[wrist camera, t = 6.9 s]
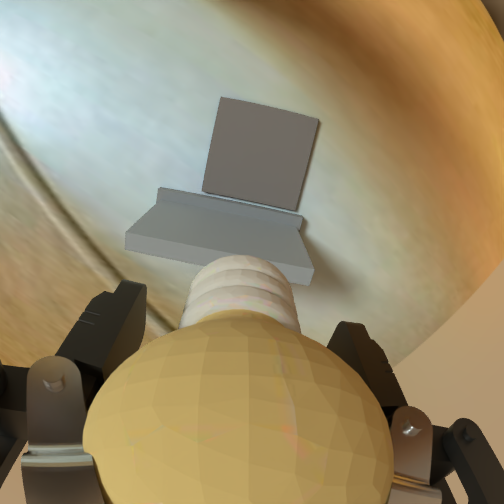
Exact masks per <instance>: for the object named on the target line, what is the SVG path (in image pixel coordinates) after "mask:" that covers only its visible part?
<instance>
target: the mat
mask: <svg viewBox="0 0 504 504" xmlns="http://www.w3.org/2000/svg"><path fill="white" fill-rule="evenodd" d="M318 120H319V119H316V118H312V117H309V116H305V115H301V114H298V113H294V112H290V111H286V110H282V109H278V108H273V107H269V106H265V105H260V104H255V103H251V102H246V101H241V100H235V99H230V98H224V97H221V98H220V103H219V107H218V112H217V116H216V121H215V125H214V130H213V135H212V140H211V144H210V149H209V154H208V159H207V165H206V170H205V175H204V181H203V186H202V191H203V192H208V193H214V194H219V195H224V196H229V197H234V198H239V199H244V200H248V201H253V202H258V203H263V204H267V205H272V206H276V207H281V208H285V209H290V210H294V211H295V209H296V206H297V202H298V198H299V194H300V191H301V187H302V183H303V179H304V176H305V172H306V168H307V164H308V160H309V156H310V152H311V148H312V144H313V140H314V136H315V132H316V128H317V124H318Z"/></svg>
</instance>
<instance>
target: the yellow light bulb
mask: <svg viewBox="0 0 504 504" xmlns="http://www.w3.org/2000/svg"><path fill="white" fill-rule="evenodd" d="M83 449H84V451H85V452H88V453H90V454H91V455H92V458H93V462H94V466H95V470H96V474H97V478H98V481H99V485H100V488H101V491H102V494H103V496H104V499H105V502H106V504H385V503H386V501H387V498H388V495H389V492H390V488H391V484H392V481H393V476H394V455H393V445H392V440H391V435H390V431H389V426H388V422H387V420H386V417H385V415H384V413H383V411H382V409H381V406H380V404H379V402H378V401H377V399H376V397H375V396H374V394H373V393H372V391H371V390H370V389H369V387H368V386H367V385H366V383H365V382H364V381H363V379H362V378H361V377H360V375H359V374H358V373H357V372H356V371H354V370H353V369H352V368H351V367H350V366H349V365H348V364H347V363H345V362H344V361H343V360H342V359H341V358H340V357H339V356H337V355H336V354H335V353H333V352H332V351H331V350H329V349H328V348H326V347H325V346H323V345H322V344H320V343H318V342H316V341H314V340H312V339H310V338H308V337H306V336H304V335H302V334H301V329H300V325H299V322H298V319H297V311H296V307H295V303H294V299H293V293H292V289H291V287H290V284H289V282H288V280H287V279H286V277H285V276H284V275H283V273H282V272H281V271H280V270H279V269H278V268H277V267H276V266H274V265H273V264H271V263H270V262H268V261H266V260H263V259H261V258H258V257H253V256H249V255H232V256H227V257H222V258H219V259H217V260H215V261H213V262H211V263H209V264H208V265H207V266H206V267H204V268H203V269H202V270H201V271H200V272H199V273H198V274H197V275H196V277H195V278H194V280H193V282H192V284H191V287H190V291H189V295H188V298H187V301H186V304H185V307H184V310H183V315H182V318H181V321H180V324H179V328H178V330H176V331H173V332H171V333H169V334H166V335H164V336H161V337H159V338H157V339H155V340H154V341H152V342H150V343H148V344H147V345H145V346H144V347H142V348H141V349H139V350H138V351H137V352H135V353H134V354H133V355H131V356H130V357H129V358H128V359H126V360H125V361H124V362H123V363H122V364H121V365H120V366H119V367H118V368H117V369H116V370H115V371H114V372H113V373H112V374H111V375H110V376H109V378H108V379H107V380H106V382H105V383H104V384H103V386H102V387H101V388H100V390H99V391H98V393H97V394H96V396H95V398H94V400H93V402H92V404H91V406H90V408H89V410H88V412H87V419H86V422H85V426H84V430H83Z"/></svg>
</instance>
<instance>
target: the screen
mask: <svg viewBox="0 0 504 504" xmlns="http://www.w3.org/2000/svg"><path fill="white" fill-rule="evenodd" d="M302 220H303V217H302V216H301V215H297V214H292V213H288V212H283V211H279V210H274V209H270V208H265V207H260V206H256V205H251V204H246V203H241V202H237V201H232V200H227V199H222V198H216V197H211V196H206V195H201V194H196V193H190V192H185V191H179V190H174V189H168V188H162V187H160V188H159V189H158V193H157V201H156V204H155V205H154V206H153V207H152V208H151V209H150V210H149V211H148V212H147V213H145V214H144V215H143V216H142V217H141V218H140V219H139V220H138V221H137V222H136V223H135V224H134V225H133V226H132V227H131V228H129V229H128V230H127V231H126V235H125V250H129V251H134V252H138V253H143V254H148V255H152V256H157V257H162V258H167V259H172V260H176V261H181V262H186V263H191V264H196V265H201V266H207V265H208V264H209V263H211V262H213V261H215V260H217V259H219V258H222V257H227V256H232V255H249V256H253V257H258V258H261V259H263V260H266V261H268V262H270V263H271V264H273V265H274V266H276V267H277V268H278V269H279V270H280V271H281V272H282V273H283V275H284V276H285V277H286V279H287V280H288V282H290V283H295V284H301V285H306V286H309V285H310V282H311V279H312V276H313V273H314V271H315V269H314V267H313V264H312V262H311V260H310V257H309V255H308V253H307V250H306V248H305V246H304V243H303V241H302V239H301V237H300V234H299V230H300V227H301V223H302Z"/></svg>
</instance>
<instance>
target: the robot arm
mask: <svg viewBox="0 0 504 504" xmlns="http://www.w3.org/2000/svg"><path fill="white" fill-rule="evenodd" d="M146 296H147V287H146V284H141V283H137V282H133V281H128V280H124V279H123V280H122V281H121V282H120V284H119V285H118V287H117V289H116V290H115V292H114V293H110V292H106V291H104V292H103V293H101V294H99V295H98V296H96V297H94V298H93V299H92V300H91V301H90V303H89V304H88V306H87V307H86V309H85V312H83V313H82V314H81V316H80V317H79V320H78V321H77V322H76V323H75V325H74V326H73V328H72V329H71V331H70V332H69V334H68V336H67V337H66V339H65V340H64V342H63V343H62V345H61V346H60V348H59V350H58V351H57V353H56V354H55V356H48V357H44V358H41V359H39V360H38V361H36V362H35V363H34V364H33V365H32V366H31V367H30V368H24V367H16V366H8V365H2V363H1V361H0V488H1V486H2V484H3V482H4V480H5V479H6V477H7V475H8V473H9V471H10V470H11V468H12V466H13V464H14V463H15V461H16V459H17V457H18V456H19V454H20V452H21V451H22V449H23V447H24V446H25V444H26V442H27V441H28V444H29V445H28V452H27V453H24V454H23V455H22V458H21V470H22V477H23V485H24V491H25V497H26V503H27V504H106V502H105V499H104V496H103V494H102V491H101V488H100V485H99V481H98V478H97V474H96V470H95V466H94V462H93V458H92V455H91V454H90V453H88V452H85V451H84V449H83V430H84V426H85V422H86V419H87V412H88V410H89V408H90V406H91V404H92V402H93V400H94V398H95V396H96V394H97V393H98V391H99V390H100V388H101V387H102V386H103V384H104V383H105V382H106V380H107V379H108V378H109V376H110V375H111V374H112V373H113V372H114V371H115V370H116V369H117V368H118V367H119V366H120V365H121V364H122V363H123V362H124V361H125V360H126V359H128V358H129V357H130V356H131V355H133V354H134V353H135V352H137V351H138V350H139V347H140V345H141V342H142V339H143V336H144V331H145V324H146ZM326 348H328V349H329V350H331V351H332V352H333V353H335V354H336V355H337V356H339V357H340V358H341V359H342V360H343V361H344V362H345V363H347V364H348V365H349V366H350V367H351V368H352V369H353V370H354V371H356V372H357V373H358V374H359V375H360V377H361V378H362V379H363V381H364V382H365V383H366V385H367V386H368V387H369V389H370V390H371V391H372V393H373V394H374V396H375V397H376V399H377V401H378V402H379V404H380V406H381V409H382V411H383V413H384V415H385V417H386V420H387V422H388V426H389V431H390V435H391V440H392V445H393V455H394V476H393V481H392V484H391V488H390V492H389V495H388V498H387V501H386V503H385V504H457V503H456V501H455V499H454V497H453V495H452V492H451V490H450V488H449V486H448V484H447V482H446V480H445V477H446V476H448V475H449V474H450V473H452V472H453V471H454V470H456V472H457V474H458V477H459V479H460V481H461V483H462V485H463V487H464V489H465V491H466V493H467V495H468V500H469V501H468V504H504V470H503V468H502V466H501V464H500V463H499V461H498V459H497V457H496V455H495V454H494V452H493V450H492V448H491V447H490V445H489V443H488V442H487V440H486V438H485V436H484V435H483V433H482V431H481V430H480V428H479V427H478V426H477V424H475V423H474V422H473V421H472V420H470V419H467V418H460V419H458V420H456V421H455V422H454V424H452V425H451V426H450V427H449V428H446V427H440V426H435V425H432V424H431V421H430V419H429V418H428V417H427V415H426V414H425V413H424V412H422V411H421V410H419V409H418V408H415V407H412V406H408V404H407V402H406V399H405V397H404V395H403V392H402V390H401V388H400V386H399V383H398V382H397V379H396V377H395V374H394V373H392V372H393V370H392V368H391V366H390V364H388V362H389V361H388V359H387V357H386V355H385V353H384V351H383V349H382V348H381V347H380V346H379V345H378V344H377V343H376V342H375V341H374V340H372V339H370V337H369V335H368V332H367V330H366V328H365V326H364V325H363V324H360V323H353V322H345V321H341V322H340V323H339V324H338V325H337V327H336V329H335V331H334V333H333V335H332V337H331V339H330V341H329V343H328V345H327V347H326Z"/></svg>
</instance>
